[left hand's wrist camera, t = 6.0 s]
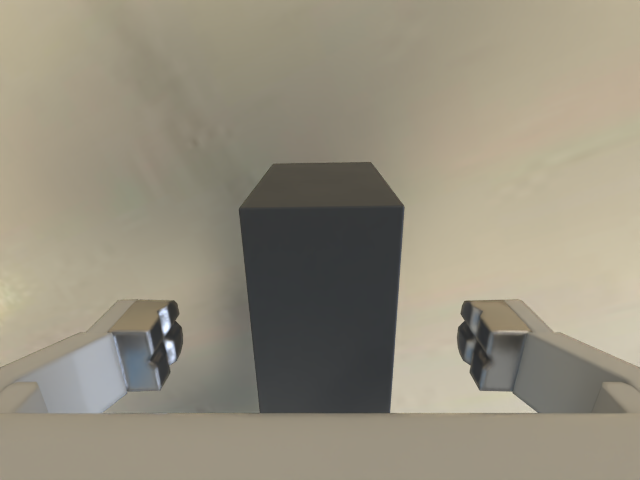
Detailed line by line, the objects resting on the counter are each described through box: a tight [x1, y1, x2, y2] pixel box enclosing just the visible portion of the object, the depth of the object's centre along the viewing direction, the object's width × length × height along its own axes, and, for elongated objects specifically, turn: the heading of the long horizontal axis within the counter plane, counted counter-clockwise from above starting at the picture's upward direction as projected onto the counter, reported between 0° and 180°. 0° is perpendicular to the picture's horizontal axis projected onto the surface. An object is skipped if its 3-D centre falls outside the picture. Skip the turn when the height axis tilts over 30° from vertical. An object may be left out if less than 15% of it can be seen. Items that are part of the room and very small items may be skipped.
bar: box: [239, 162, 404, 413], centre depth 20 cm, size 26×5×8 cm, turn 1°
